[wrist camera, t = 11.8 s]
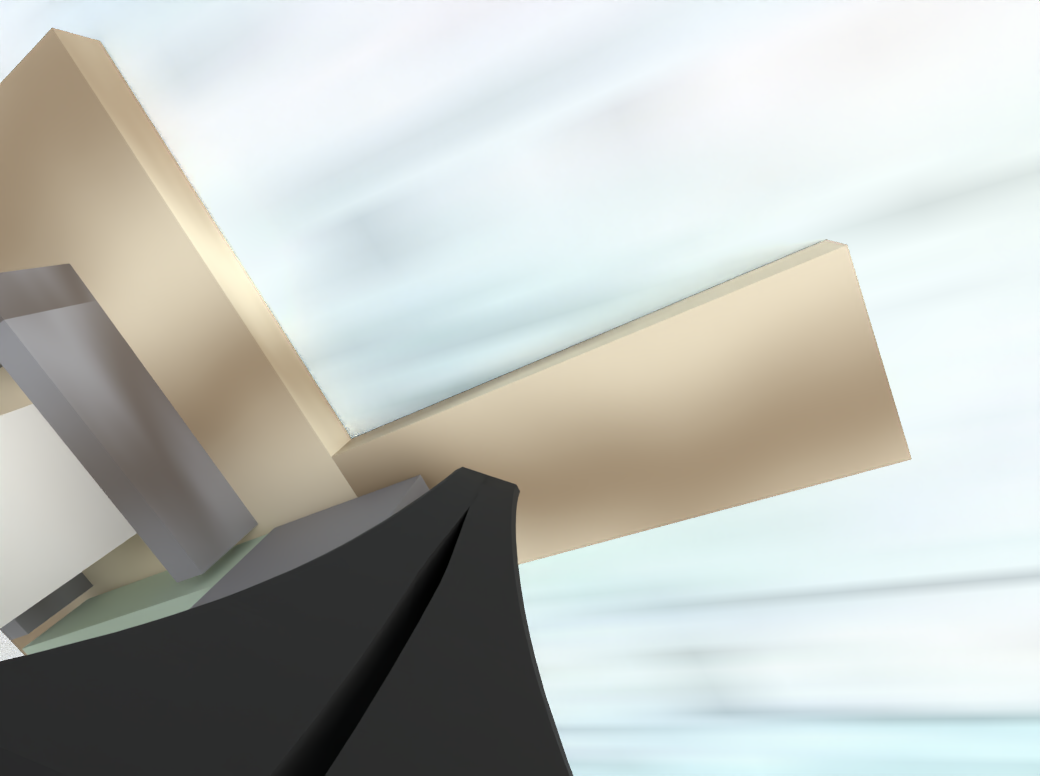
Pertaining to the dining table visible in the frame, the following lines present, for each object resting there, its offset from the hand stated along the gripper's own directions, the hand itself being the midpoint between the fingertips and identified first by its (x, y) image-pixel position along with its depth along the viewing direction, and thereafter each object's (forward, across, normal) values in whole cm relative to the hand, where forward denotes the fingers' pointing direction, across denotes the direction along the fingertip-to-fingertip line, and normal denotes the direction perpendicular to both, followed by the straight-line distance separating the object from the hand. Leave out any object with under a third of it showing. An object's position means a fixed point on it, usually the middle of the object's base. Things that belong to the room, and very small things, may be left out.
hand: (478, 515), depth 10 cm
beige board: (+3, +8, +1) cm, 9 cm away
